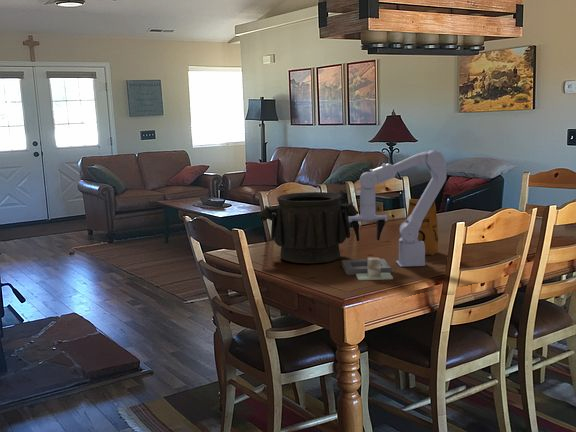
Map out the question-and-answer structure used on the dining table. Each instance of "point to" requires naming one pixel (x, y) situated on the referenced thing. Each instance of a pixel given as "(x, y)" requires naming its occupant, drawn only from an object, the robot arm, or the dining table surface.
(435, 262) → the dining table surface
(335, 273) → the dining table surface
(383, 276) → the green tile
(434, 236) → the coffee package
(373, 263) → the cream block
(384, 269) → the holder plate
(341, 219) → the vessel
